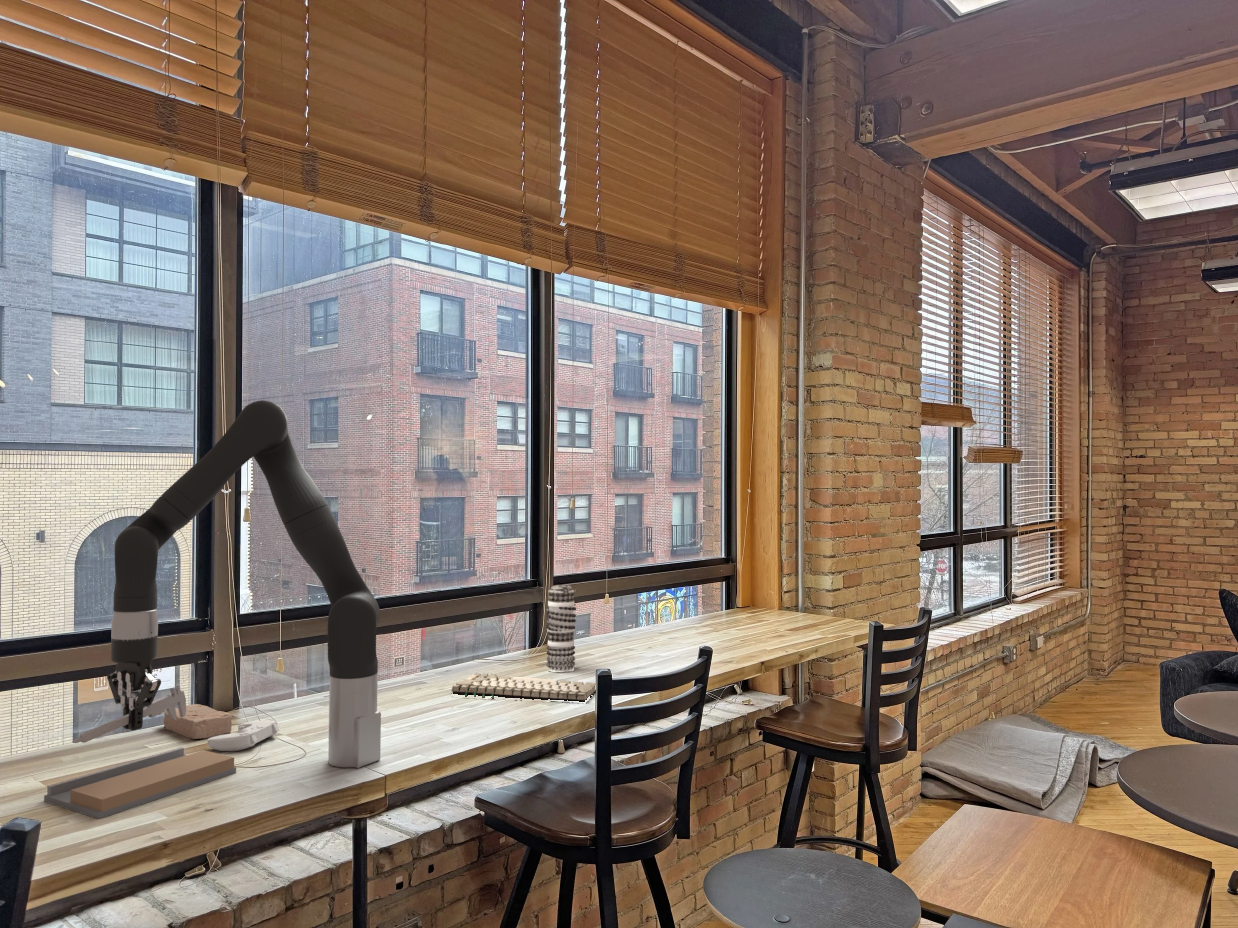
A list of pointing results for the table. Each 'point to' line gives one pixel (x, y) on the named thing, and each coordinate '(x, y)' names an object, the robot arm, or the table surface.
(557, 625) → the decorative candle
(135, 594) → the robot arm
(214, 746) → the game controller
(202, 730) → the brick
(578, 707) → the table surface
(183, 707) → the caliper
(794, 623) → the table surface
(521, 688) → the mechanical keyboard
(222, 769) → the plank board
